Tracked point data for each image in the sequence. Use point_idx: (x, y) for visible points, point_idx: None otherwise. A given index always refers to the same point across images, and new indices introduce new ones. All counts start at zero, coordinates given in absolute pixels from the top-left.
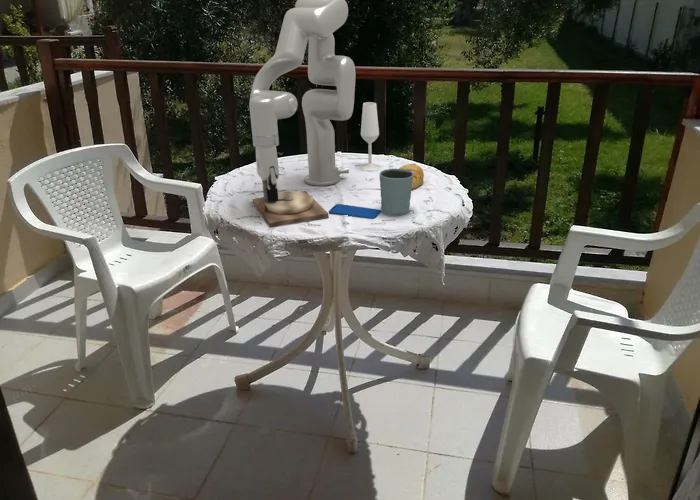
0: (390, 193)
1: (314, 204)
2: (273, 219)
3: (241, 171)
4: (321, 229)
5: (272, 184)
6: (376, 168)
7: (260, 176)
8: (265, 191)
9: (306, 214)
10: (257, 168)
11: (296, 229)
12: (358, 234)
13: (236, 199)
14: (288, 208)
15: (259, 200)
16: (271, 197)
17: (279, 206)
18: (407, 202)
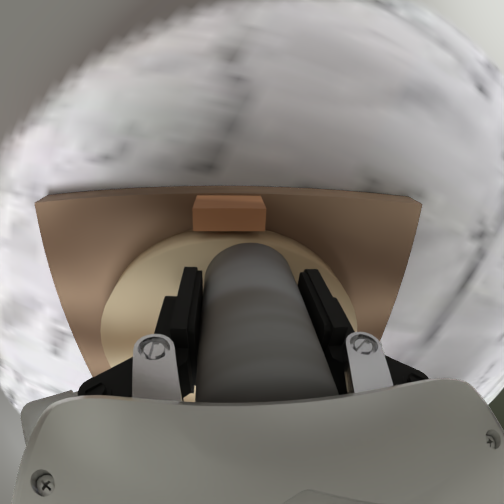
0: None
1: None
2: (67, 228)
3: None
4: (29, 345)
5: (38, 400)
6: None
7: (235, 422)
8: (223, 303)
9: (103, 359)
10: (445, 447)
11: (26, 285)
12: (15, 385)
13: (475, 151)
14: (101, 329)
15: (384, 230)
16: (163, 306)
17: (134, 303)
18: None
